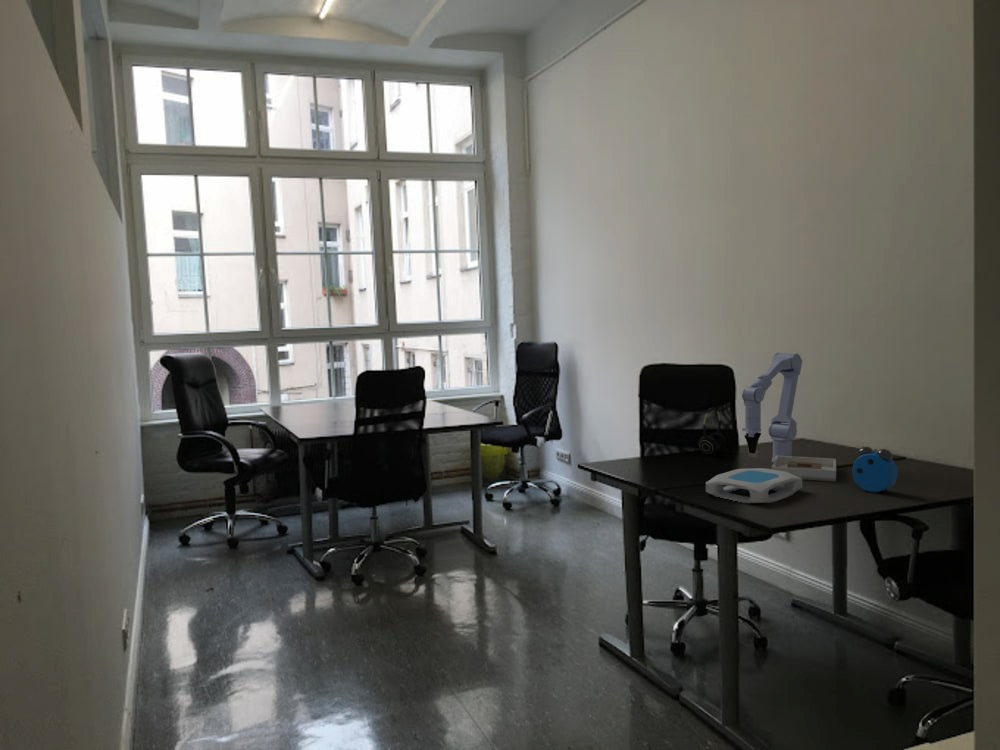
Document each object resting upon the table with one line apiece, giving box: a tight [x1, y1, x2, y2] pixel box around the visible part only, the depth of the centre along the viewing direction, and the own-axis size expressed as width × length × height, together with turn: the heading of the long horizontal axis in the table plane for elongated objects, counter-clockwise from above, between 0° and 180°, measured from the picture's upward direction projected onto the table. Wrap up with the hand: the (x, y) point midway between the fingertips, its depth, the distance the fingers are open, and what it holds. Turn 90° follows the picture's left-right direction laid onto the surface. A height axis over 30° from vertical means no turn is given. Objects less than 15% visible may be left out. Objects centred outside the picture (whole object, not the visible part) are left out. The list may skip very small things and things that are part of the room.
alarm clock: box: [851, 446, 899, 493], centre depth 268 cm, size 13×6×15 cm, turn 38°
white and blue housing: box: [705, 467, 803, 504], centre depth 270 cm, size 21×28×6 cm
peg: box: [747, 441, 759, 458], centre depth 307 cm, size 4×4×7 cm
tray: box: [771, 456, 837, 482], centre depth 298 cm, size 22×22×4 cm
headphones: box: [698, 407, 727, 455], centre depth 338 cm, size 9×15×20 cm, turn 138°
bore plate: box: [787, 461, 822, 469], centre depth 298 cm, size 12×12×2 cm
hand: (752, 452), depth 308 cm, fingers closed on peg, 4 cm apart
